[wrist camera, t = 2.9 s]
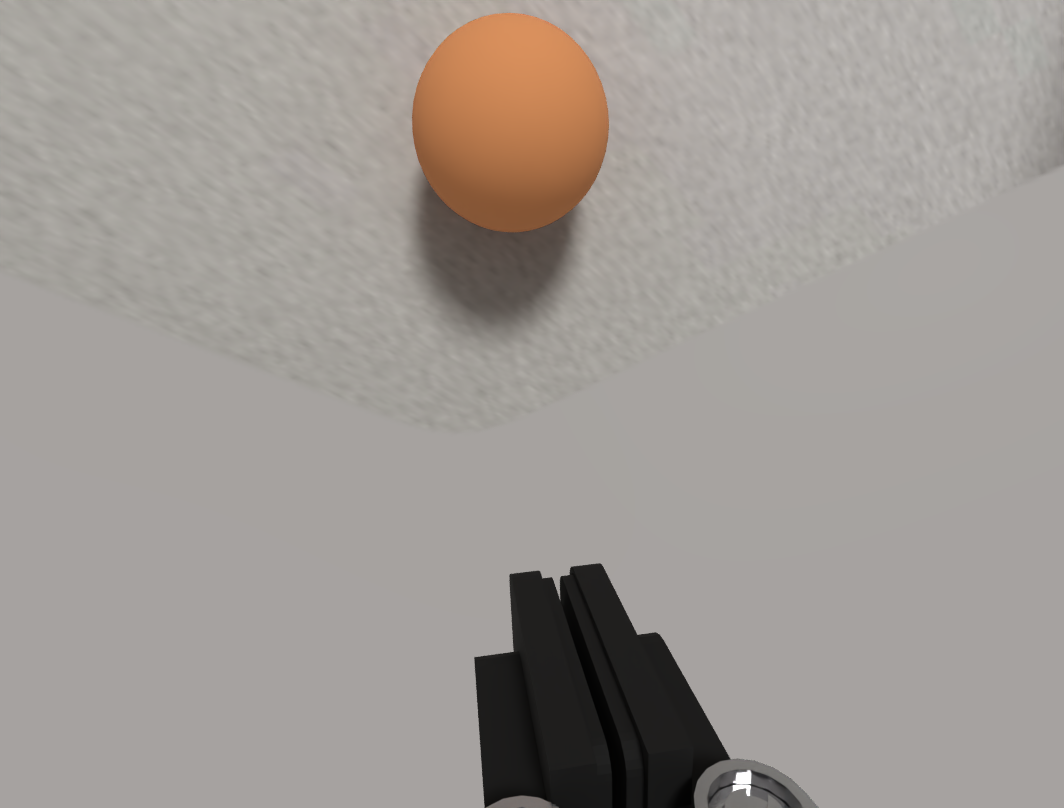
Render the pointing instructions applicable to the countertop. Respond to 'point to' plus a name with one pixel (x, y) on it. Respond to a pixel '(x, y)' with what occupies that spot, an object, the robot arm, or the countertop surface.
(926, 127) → the countertop surface
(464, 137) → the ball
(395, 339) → the countertop surface
